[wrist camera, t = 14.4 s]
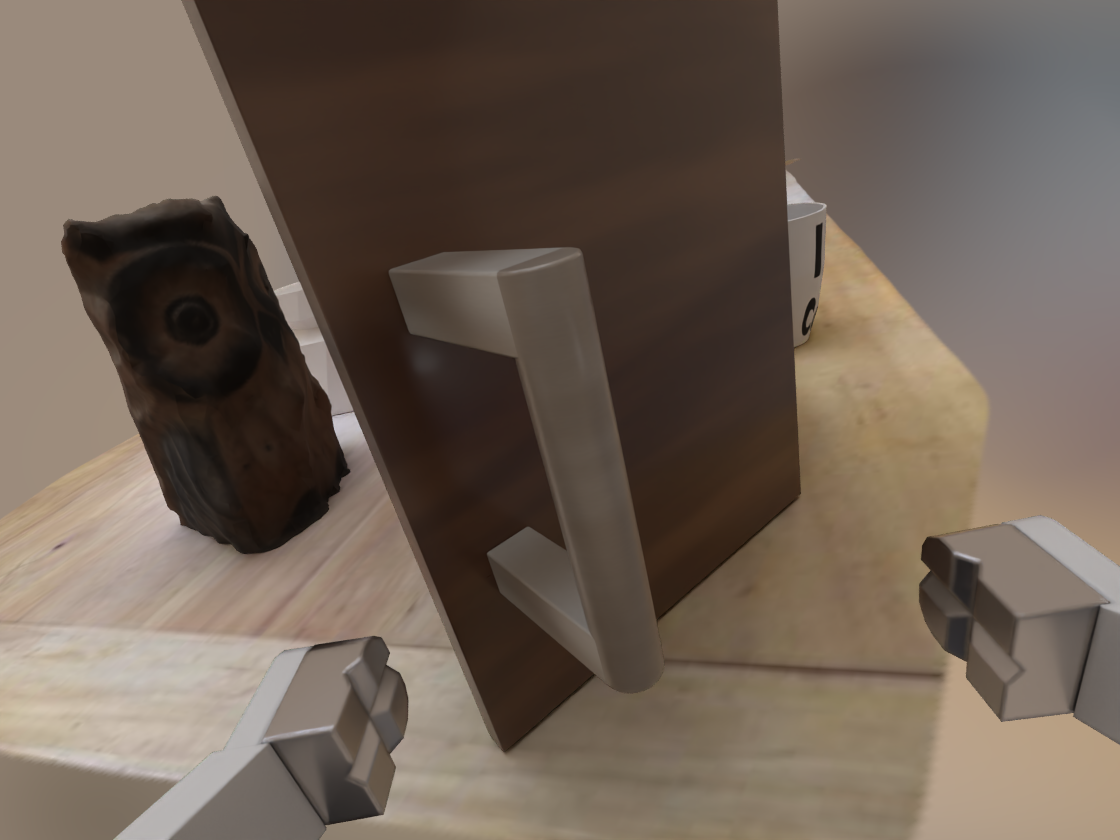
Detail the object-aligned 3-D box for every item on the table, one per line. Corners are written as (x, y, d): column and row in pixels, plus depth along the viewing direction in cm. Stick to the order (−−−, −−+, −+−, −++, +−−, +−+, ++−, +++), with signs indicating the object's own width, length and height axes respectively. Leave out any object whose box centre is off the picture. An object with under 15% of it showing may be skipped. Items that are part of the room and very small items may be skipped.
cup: (835, 352, 42) (834, 213, 38) (723, 363, 45) (709, 235, 40) (822, 318, 49) (819, 197, 44) (725, 330, 51) (714, 217, 47)
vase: (317, 398, 61) (268, 289, 56) (396, 372, 63) (356, 265, 58) (315, 424, 53) (259, 302, 48) (405, 394, 55) (360, 273, 50)
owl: (340, 442, 48) (231, 195, 39) (407, 483, 38) (282, 170, 30) (178, 521, 41) (4, 243, 32) (211, 593, 31) (-21, 229, 23)
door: (932, 537, 23) (983, -148, 14) (623, 904, 14) (230, -288, 5) (782, 487, 28) (749, -36, 19) (488, 733, 20) (174, -14, 11)
